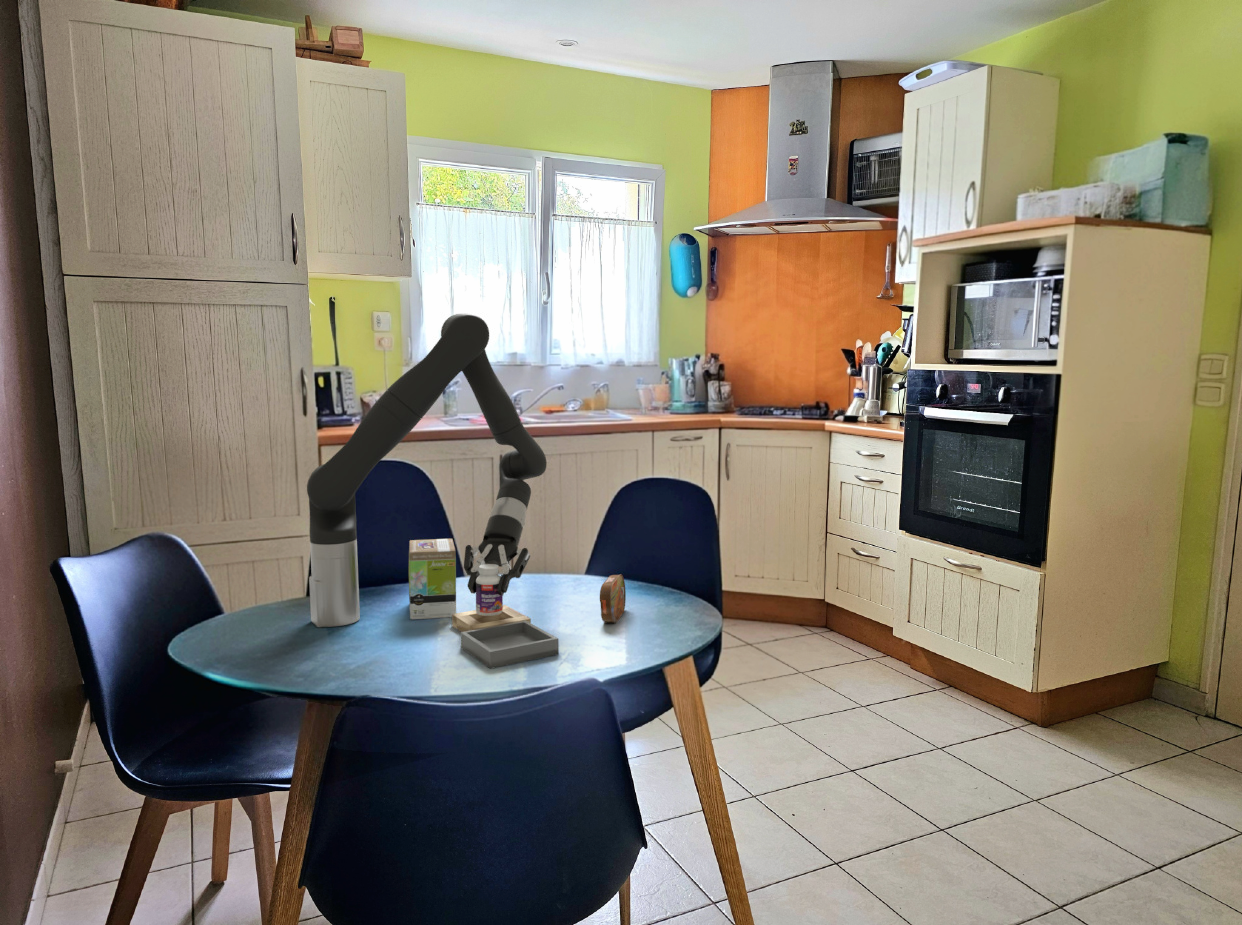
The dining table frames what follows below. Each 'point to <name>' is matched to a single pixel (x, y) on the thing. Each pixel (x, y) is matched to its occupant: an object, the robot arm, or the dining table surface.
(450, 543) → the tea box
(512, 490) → the robot arm
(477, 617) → the oak collar
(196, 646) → the dining table surface
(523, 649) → the charcoal tray
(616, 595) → the tin
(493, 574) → the pill bottle
